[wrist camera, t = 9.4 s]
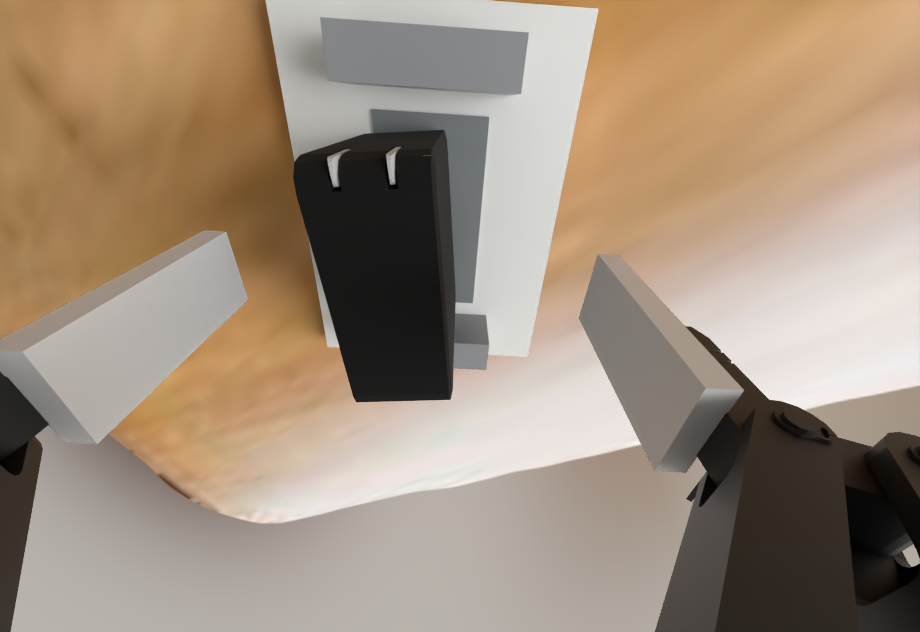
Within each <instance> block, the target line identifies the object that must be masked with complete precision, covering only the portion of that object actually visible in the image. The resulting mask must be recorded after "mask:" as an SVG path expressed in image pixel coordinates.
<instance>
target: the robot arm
mask: <svg viewBox="0 0 920 632" xmlns="http://www.w3.org/2000/svg"><path fill="white" fill-rule="evenodd" d="M247 300H248V298H247V295H246V291H245V288H244V285H243V282H242V279H241V276H240V273H239V270H238V267H237V264H236V260H235V257H234V254H233V251H232V248H231V245H230V242H229V239H228V236H227V233H226V232H225V231H208V230H204V231H202V232H200V233H198V234H196V235H194V236H192V237H190V238H189V239H187V240H185V241H183V242H181V243H179V244H177V245H175V246H174V247H172V248H170V249H168V250H166V251H164V252H162V253H161V254H159V255H157V256H155V257H153V258H151V259H149V260H147V261H146V262H144V263H142V264H140V265H138V266H136V267H134V268H132V269H131V270H129V271H127V272H125V273H123V274H121V275H119V276H117V277H116V278H114V279H112V280H110V281H108V282H106V283H104V284H103V285H101V286H99V287H97V288H95V289H93V290H91V291H89V292H88V293H86V294H84V295H82V296H80V297H78V298H76V299H74V300H73V301H71V302H69V303H67V304H65V305H63V306H61V307H59V308H58V309H56V310H54V311H52V312H50V313H48V314H46V315H44V316H43V317H41V318H39V319H37V320H35V321H33V322H31V323H30V324H28V325H26V326H24V327H22V328H20V329H18V330H16V331H15V332H13V333H11V334H9V335H7V336H5V337H3V338H1V339H0V632H10V631H11V625H12V620H13V614H14V609H15V602H16V597H17V591H18V586H19V580H20V575H21V569H22V563H23V557H24V552H25V546H26V541H27V535H28V529H29V524H30V518H31V512H32V507H33V501H34V495H35V490H36V484H37V478H38V473H39V467H40V461H41V456H42V450H43V449H42V445H41V443H40V442H39V440H38V439H37V438H36V437H35V435H36V434H38V433H39V432H40V431H41V430H43V429H44V428H45V427H46V426H48V425H49V426H50V427H51V429H52V430H53V431H54V432H55V433H56V434H57V435H58V436H59V438H60V439H61V440H62V441H63V442H66V443H67V442H68V443H86V444H87V443H88V444H98V443H99V442H100V441H101V440H102V439H103V438H104V437H105V436H106V435H107V434H108V433H109V432H110V431H112V430H113V429H114V428H115V427H116V426H117V425H118V424H119V423H120V422H121V421H122V420H123V419H124V418H125V417H126V416H127V415H128V414H129V413H130V412H131V411H132V410H133V409H134V408H136V407H137V406H138V405H139V404H140V403H141V402H142V401H143V400H144V399H145V398H146V397H147V396H148V395H149V394H150V393H151V392H152V391H153V390H154V389H155V388H156V387H157V386H158V385H159V384H161V383H162V382H163V381H164V380H165V379H166V378H167V377H168V376H169V375H170V374H171V373H172V372H173V371H174V370H175V369H176V368H177V367H178V366H179V365H180V364H181V363H182V362H183V361H184V360H186V359H187V358H188V357H189V356H190V355H191V354H192V353H193V352H194V351H195V350H196V349H197V348H198V347H199V346H200V345H201V344H202V343H203V342H204V341H205V340H206V339H207V338H208V337H210V336H211V335H212V334H213V333H214V332H215V331H216V330H217V329H218V328H219V327H220V326H221V325H222V324H223V323H224V322H225V321H226V320H227V319H228V318H229V317H230V316H231V315H232V314H233V313H235V312H236V311H237V310H238V309H239V308H240V307H241V306H242V305H243V304H244V303H245V302H246V301H247ZM579 319H580V321H581V323H582V325H583V327H584V329H585V331H586V333H587V335H588V337H589V339H590V342H591V344H592V346H593V348H594V350H595V352H596V354H597V356H598V358H599V360H600V362H601V364H602V366H603V368H604V370H605V372H606V374H607V376H608V378H609V380H610V382H611V384H612V386H613V388H614V390H615V392H616V394H617V396H618V398H619V400H620V402H621V404H622V406H623V408H624V410H625V412H626V414H627V416H628V418H629V420H630V422H631V424H632V427H633V429H634V431H635V433H636V435H637V437H638V439H639V441H640V443H641V445H642V447H643V449H644V451H645V452H646V455H647V457H648V459H649V461H650V463H651V465H652V467H653V469H654V471H663V472H683V473H686V472H687V471H688V469H689V468H690V466H691V465H692V463H693V462H694V461H695V459H696V458H697V457H698V458H699V460H700V461H701V463H702V465H703V466H704V468H705V469H706V471H707V472H706V473H705V475H704V476H703V477H702V479H701V480H700V481H699V483H698V484H697V485H696V486H695V488H694V489H693V490H692V492H691V493H690V495H689V496H688V497H687V498H686V499H687V500H689V501H692V500H693V499H694V498H695V499H694V502H693V506H692V509H691V512H690V516H689V519H688V523H687V526H686V529H685V533H684V536H683V539H682V543H681V546H680V549H679V553H678V556H677V560H676V564H675V566H674V570H673V573H672V576H671V580H670V583H669V587H668V590H667V593H666V596H665V600H664V603H663V607H662V610H661V613H660V617H659V620H658V623H657V627H656V630H655V632H920V564H918V565H917V566H914V567H911V566H910V565H909V564H908V562H907V560H906V558H905V556H904V554H903V552H902V551H903V550H904V549H906V548H908V547H909V546H911V545H912V544H914V546H915V548H916V549H917V552H918V555H919V558H920V437H918V436H915V435H910V434H906V433H901V432H894V433H888V434H887V435H886V436H885V437H883V438H882V439H881V440H880V441H879V442H878V443H877V444H876V445H874V446H873V447H871V446H867V445H864V444H860V443H856V442H853V441H849V440H845V439H842V438H838V437H837V436H836V434H835V433H834V432H833V431H832V430H831V429H830V428H829V427H828V426H827V425H826V424H825V423H824V422H822V421H820V420H819V419H818V418H816V417H815V416H814V415H812V414H810V413H808V412H806V411H804V410H803V409H801V408H799V407H797V406H794V405H791V404H788V403H785V402H781V401H774V400H769V399H768V398H767V397H766V396H765V395H764V394H763V393H762V392H761V391H760V390H759V389H758V388H757V387H756V386H755V385H754V384H753V383H752V382H751V381H750V380H749V379H748V378H747V377H746V376H745V375H744V374H743V373H742V372H741V371H740V370H739V368H738V367H737V366H736V365H735V364H731V360H730V359H729V358H728V357H727V356H726V355H725V354H724V353H721V350H720V349H719V348H718V347H717V346H716V345H715V344H714V343H713V342H712V341H711V340H710V339H709V338H708V337H706V336H705V335H703V334H702V333H700V332H698V331H697V330H695V329H694V328H692V327H686V326H684V325H683V324H682V323H681V321H680V320H679V319H678V318H677V317H676V316H675V315H674V314H673V313H672V312H671V311H670V310H669V308H668V307H667V306H666V305H665V304H664V303H663V302H662V301H661V300H660V299H659V298H658V297H657V296H656V294H655V293H654V292H653V291H652V290H651V289H650V288H649V287H648V286H647V285H646V284H645V283H644V281H643V280H642V279H641V278H640V277H639V276H638V275H637V274H636V273H635V272H634V271H633V270H632V269H631V267H630V266H629V265H628V264H627V263H626V262H625V261H624V260H623V259H622V258H621V257H620V256H619V255H606V254H598V256H597V259H596V262H595V266H594V269H593V273H592V276H591V279H590V283H589V286H588V290H587V293H586V296H585V300H584V303H583V306H582V310H581V313H580V317H579Z"/></svg>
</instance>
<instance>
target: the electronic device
mask: <svg viewBox="0 0 920 632" xmlns="http://www.w3.org/2000/svg"><path fill="white" fill-rule="evenodd" d="M293 177H294V183H295V189H296V195H297V198H298V202H299V206H300V209H301V213H302V216H303V220H304V223H305V227H306V230H307V234H308V237H309V241H310V245H311V248H312V252H313V255H314V259H315V262H316V266H317V269H318V273H319V276H320V280H321V284H322V287H323V291H324V294H325V298H326V301H327V305H328V308H329V312H330V315H331V319H332V323H333V326H334V330H335V333H336V337H337V340H338V344H339V347H340V351H341V354H342V358H343V362H344V365H345V369H346V372H347V376H348V379H349V383H350V386H351V390H352V393H353V397H354V399H355V401H356V402H380V401H417V400H450V399H451V395H452V389H453V363H454V334H455V305H456V289H455V271H454V253H453V235H452V217H451V199H450V181H449V163H448V146H447V138H446V135H445V131H444V130H429V131H409V132H388V133H367V134H362V135H359V136H356V137H353V138H350V139H347V140H344V141H341V142H338V143H334V144H331V145H328V146H325V147H322V148H319V149H316V150H313V151H310V152H307V153H304V154H301V155H299V157H298V158H297V159H296V161H295V164H294V174H293Z"/></svg>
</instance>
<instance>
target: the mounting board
mask: <svg viewBox="0 0 920 632" xmlns="http://www.w3.org/2000/svg"><path fill="white" fill-rule="evenodd" d="M266 6H267V11H268V17H269V23H270V28H271V34H272V39H273V45H274V51H275V56H276V62H277V67H278V73H279V78H280V84H281V90H282V95H283V101H284V106H285V112H286V117H287V123H288V129H289V134H290V140H291V145H292V151H293V156H294V162H295V161H296V159H297V158H298V157H299V155H301V154H304V153H307V152H310V151H313V150H316V149H319V148H322V147H325V146H328V145H331V144H334V143H338V142H341V141H344V140H347V139H350V138H353V137H356V136H359V135H362V134H367V133H388V132H409V131H429V130H444V131H445V135H446V138H447V146H448V163H449V181H450V199H451V217H452V235H453V253H454V271H455V289H456V305H455V334H454V363H453V368H458V369H479V370H486V366H487V359H488V355H502V356H522V357H528V352H529V347H530V342H531V338H532V333H533V328H534V323H535V318H536V313H537V308H538V303H539V298H540V293H541V289H542V284H543V279H544V274H545V269H546V264H547V259H548V254H549V249H550V244H551V240H552V235H553V230H554V225H555V220H556V215H557V210H558V205H559V200H560V195H561V191H562V186H563V181H564V176H565V171H566V166H567V161H568V156H569V151H570V146H571V142H572V137H573V132H574V127H575V122H576V117H577V112H578V107H579V102H580V97H581V93H582V88H583V83H584V78H585V73H586V68H587V63H588V58H589V53H590V48H591V44H592V39H593V34H594V29H595V24H596V19H597V14H598V9H595V8H581V7H568V6H555V5H542V4H528V3H515V2H502V1H489V0H266ZM308 240H309V237H308ZM309 246H310V251H311V257H312V262H313V268H314V274H315V279H316V285H317V290H318V296H319V301H320V307H321V313H322V318H323V324H324V329H325V335H326V340H327V346H328V347H339V344H338V340H337V337H336V333H335V330H334V326H333V323H332V319H331V315H330V312H329V308H328V305H327V301H326V298H325V294H324V291H323V287H322V284H321V280H320V276H319V273H318V269H317V266H316V262H315V259H314V255H313V252H312V248H311V245H310V241H309Z"/></svg>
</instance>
